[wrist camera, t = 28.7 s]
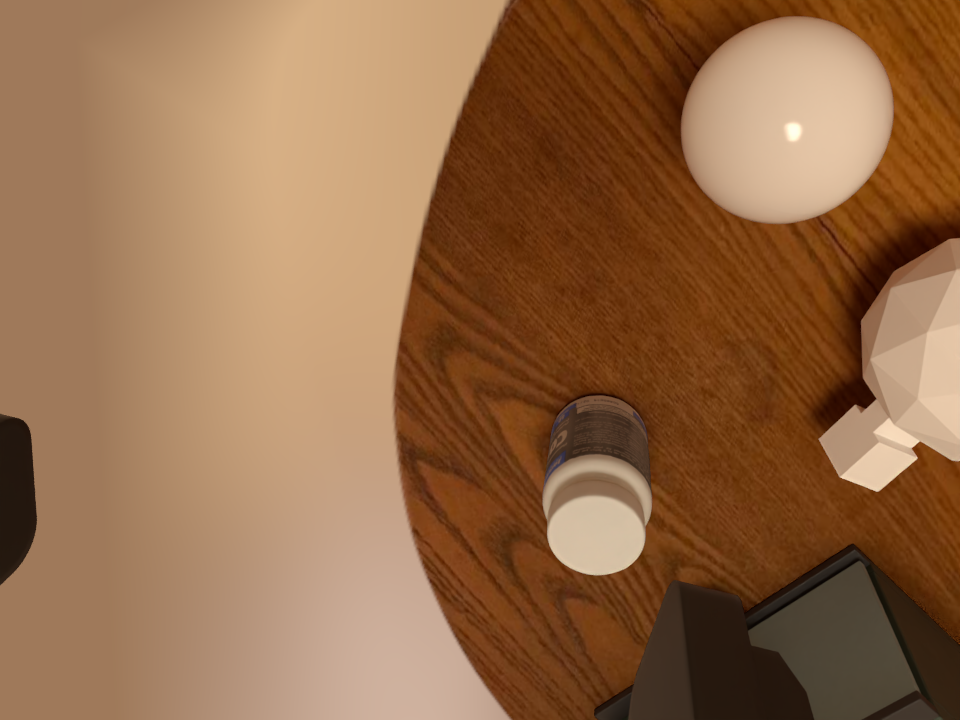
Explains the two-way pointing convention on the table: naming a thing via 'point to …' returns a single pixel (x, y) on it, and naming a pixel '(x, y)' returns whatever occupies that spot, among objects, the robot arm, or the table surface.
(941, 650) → the cabinet
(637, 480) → the pill bottle
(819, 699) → the door
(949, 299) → the perfume bottle
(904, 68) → the table surface
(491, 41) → the table surface
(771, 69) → the lightbulb
